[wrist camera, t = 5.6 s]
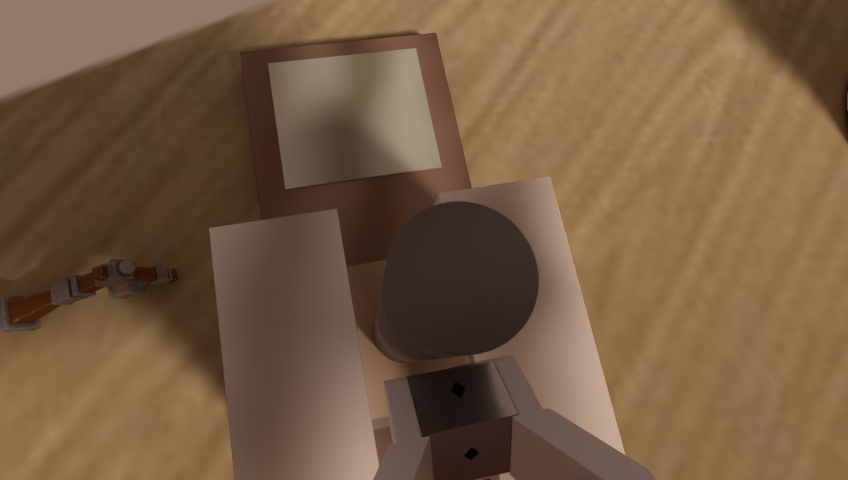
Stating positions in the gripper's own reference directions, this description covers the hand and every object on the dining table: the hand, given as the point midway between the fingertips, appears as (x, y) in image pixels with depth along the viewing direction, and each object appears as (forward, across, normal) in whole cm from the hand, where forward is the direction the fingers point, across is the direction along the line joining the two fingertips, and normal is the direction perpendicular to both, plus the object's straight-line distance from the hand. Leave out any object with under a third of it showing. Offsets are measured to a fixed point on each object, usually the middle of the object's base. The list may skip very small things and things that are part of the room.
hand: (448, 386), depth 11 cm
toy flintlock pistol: (+17, +15, +7) cm, 24 cm away
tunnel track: (+15, 0, +9) cm, 17 cm away
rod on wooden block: (+12, 0, +9) cm, 15 cm away
